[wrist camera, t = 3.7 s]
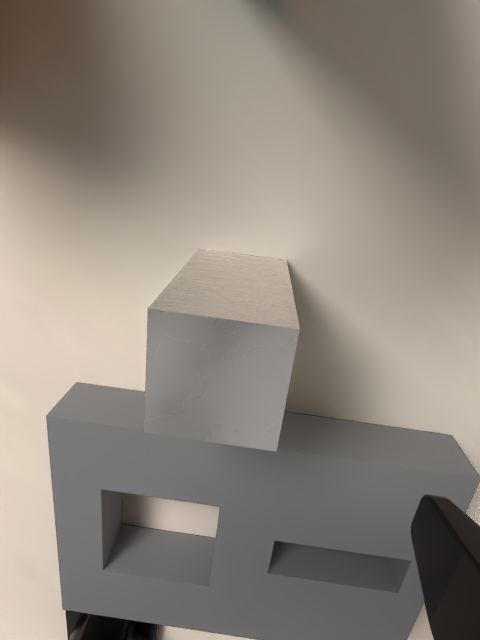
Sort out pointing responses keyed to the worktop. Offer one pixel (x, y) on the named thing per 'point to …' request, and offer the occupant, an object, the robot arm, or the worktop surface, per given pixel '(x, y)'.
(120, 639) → the robot arm
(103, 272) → the worktop surface
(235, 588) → the socket board
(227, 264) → the square peg
